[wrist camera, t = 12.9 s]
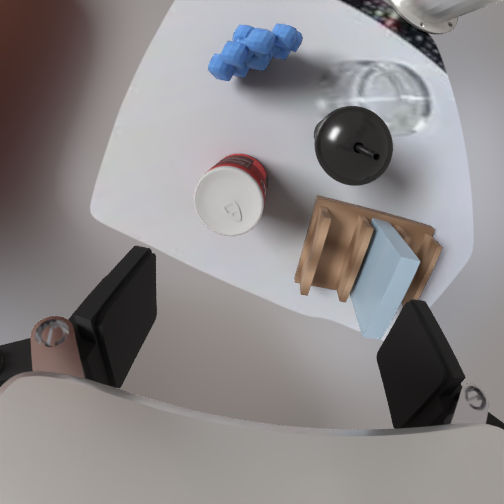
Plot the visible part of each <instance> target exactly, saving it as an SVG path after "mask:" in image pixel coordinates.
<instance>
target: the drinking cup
mask: <svg viewBox="0 0 504 504" xmlns="http://www.w3.org/2000/svg"><path fill="white" fill-rule="evenodd" d="M314 138H315V153H316V156H317V159H318V161H319V163H320V165H321V167H322V168H323V170H324V171H325V172H326V173H327V174H328V175H329V176H330V177H332V178H333V179H335V180H336V181H338V182H340V183H343V184H346V185H354V186H356V185H364V184H367V183H370V182H372V181H374V180H376V179H377V178H378V177H380V176H381V175H382V174H383V173H384V171H385V170H386V169H387V167H388V165H389V163H390V161H391V157H392V152H393V143H392V137H391V134H390V131H389V129H388V127H387V125H386V124H385V123H384V121H383V120H382V119H381V118H380V117H379V116H378V115H377V114H375V113H374V112H372V111H370V110H368V109H366V108H363V107H358V106H346V107H342V108H339V109H336V110H334V111H332V112H331V113H329V114H328V115H327V116H326V117H325V118H324V119H323V120H322V121H320V122H319V123H318V124H317V126H316V128H315V131H314Z"/></svg>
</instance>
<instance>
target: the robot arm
mask: <svg viewBox="0 0 504 504" xmlns="http://www.w3.org/2000/svg"><path fill="white" fill-rule="evenodd" d="M502 1H504V0H389V2H390V4H391V5H392V7H393V8H394V9H395V11H396V12H397V13H398V14H399V15H400V16H401V17H402V18H403V19H404V20H405V21H406V22H408V23H409V24H411V25H412V26H414V27H415V28H417V29H419V30H421V31H424V32H427V33H431V34H443V33H447V32H449V31H451V30H452V29H453V28H454V27H455V26H456V24H457V21H458V17H459V16H462V15H464V14H467V13H470V12H472V11H475V10H478V9H480V8H484V7H487V6H490V5H493V4H496V3H499V2H502ZM156 315H157V306H156V255H155V254H154V253H152V251H151V249H150V248H145V247H140V246H134V247H133V248H132V250H130V251H129V252H128V253H127V255H126V256H125V257H124V258H123V259H122V260H121V261H120V262H119V263H118V264H117V265H116V266H115V268H114V269H113V270H112V271H111V272H110V273H109V274H108V275H107V276H106V277H105V278H103V279H102V281H101V282H100V283H99V284H98V285H97V286H96V288H95V289H94V290H93V291H92V292H91V293H90V294H89V295H88V297H87V298H86V299H85V300H84V301H83V303H82V304H81V305H80V306H79V307H78V309H77V310H76V311H75V312H74V313H73V315H72V316H71V317H70V318H69V319H66V318H64V317H60V316H49V317H46V318H43V319H42V320H40V321H39V322H37V324H35V325H34V327H33V329H32V331H31V338H29V339H25V340H21V341H17V342H13V343H9V344H5V345H1V346H0V504H504V423H502V422H501V421H500V420H498V419H497V418H496V417H494V416H493V415H492V414H490V413H489V412H488V409H489V399H488V397H487V395H486V393H485V391H484V390H483V389H482V388H481V387H479V386H478V385H476V384H473V383H467V384H465V385H464V386H463V387H462V386H461V382H462V381H463V380H464V379H465V375H464V373H463V372H462V369H461V367H460V365H459V363H458V361H457V359H456V357H455V355H454V353H453V351H452V349H451V347H450V345H449V343H448V341H447V339H446V338H445V336H444V334H443V332H442V330H441V328H440V326H439V325H438V323H437V321H436V319H435V317H434V316H433V314H432V312H431V310H430V309H429V307H428V305H427V303H426V302H425V301H421V300H415V299H411V300H410V301H409V302H406V303H405V305H404V306H403V308H402V310H401V312H400V314H399V316H398V318H397V319H396V321H395V323H394V325H393V327H392V328H391V330H390V332H389V334H388V335H387V337H386V339H385V341H384V342H383V344H382V346H381V347H380V349H379V351H378V353H377V363H378V366H379V370H380V373H381V377H382V381H383V385H384V389H385V393H386V397H387V401H388V405H389V410H390V414H391V418H392V423H393V427H394V428H395V429H373V430H350V429H349V430H348V429H321V428H306V427H293V426H284V425H275V424H268V423H260V422H253V421H247V420H241V419H234V418H229V417H224V416H218V415H214V414H209V413H204V412H199V411H195V410H191V409H187V408H183V407H179V406H175V405H171V404H168V403H164V402H160V401H156V400H152V399H149V398H146V397H142V396H139V395H136V394H133V393H129V392H126V391H123V390H120V389H117V388H120V387H121V386H122V384H123V382H124V380H125V378H126V376H127V374H128V372H129V370H130V368H131V366H132V364H133V362H134V359H135V358H136V356H137V354H138V352H139V350H140V348H141V346H142V344H143V343H144V341H145V339H146V337H147V335H148V333H149V331H150V329H151V327H152V325H153V323H154V321H155V319H156Z"/></svg>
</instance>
